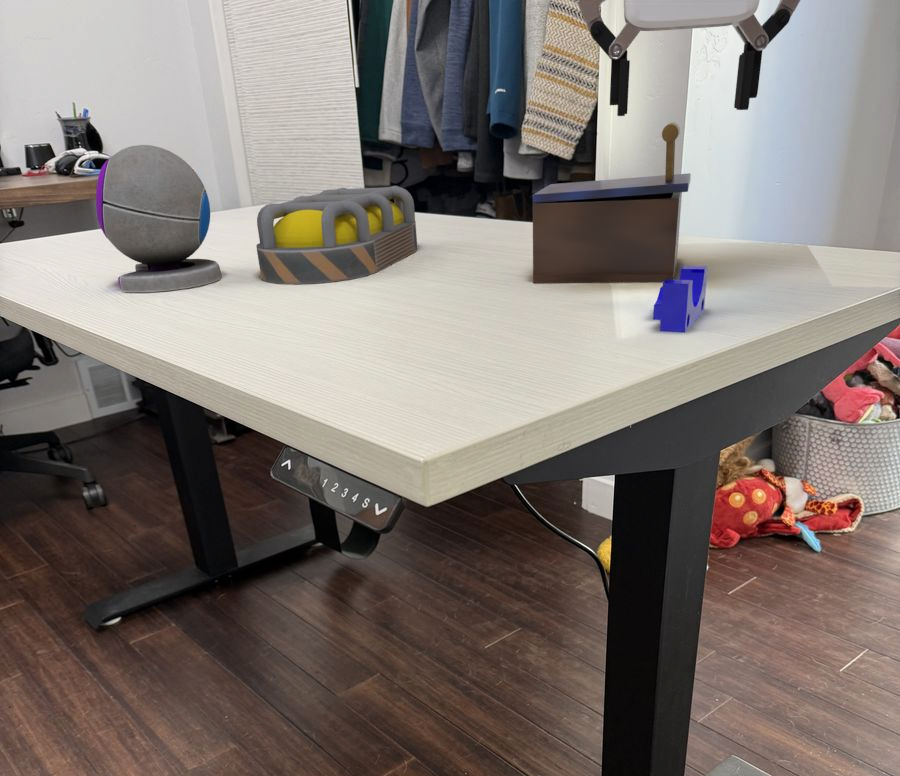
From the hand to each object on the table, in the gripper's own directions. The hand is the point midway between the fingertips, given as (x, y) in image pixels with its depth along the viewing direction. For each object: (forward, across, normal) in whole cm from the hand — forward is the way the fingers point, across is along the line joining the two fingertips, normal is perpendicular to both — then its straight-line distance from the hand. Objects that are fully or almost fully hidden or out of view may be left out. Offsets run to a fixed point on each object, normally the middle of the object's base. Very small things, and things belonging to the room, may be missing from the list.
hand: (680, 112), depth 71 cm
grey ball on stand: (+16, -58, +22) cm, 64 cm away
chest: (+16, -5, +18) cm, 24 cm away
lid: (+7, -5, +18) cm, 20 cm away
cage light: (+16, -38, +32) cm, 53 cm away
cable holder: (+16, 0, -8) cm, 17 cm away
